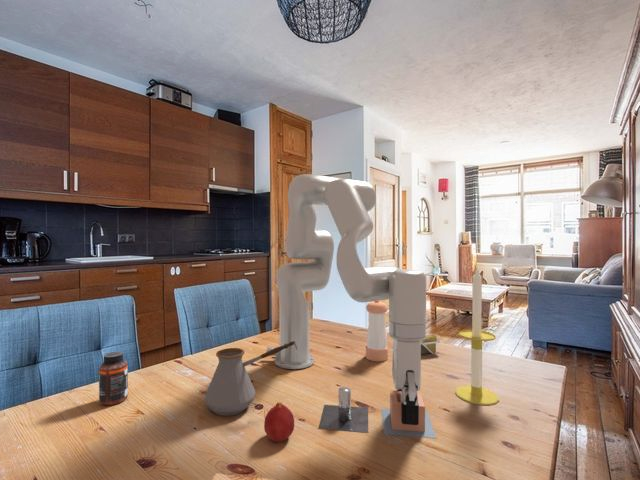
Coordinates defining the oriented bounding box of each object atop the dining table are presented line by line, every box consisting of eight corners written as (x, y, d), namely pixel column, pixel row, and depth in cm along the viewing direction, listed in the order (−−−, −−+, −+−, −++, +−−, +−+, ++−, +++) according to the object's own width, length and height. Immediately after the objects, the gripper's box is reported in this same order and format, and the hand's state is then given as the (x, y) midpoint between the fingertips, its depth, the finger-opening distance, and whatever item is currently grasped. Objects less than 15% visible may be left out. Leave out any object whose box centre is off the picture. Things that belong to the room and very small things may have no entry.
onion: (265, 434, 68) (265, 394, 68) (294, 433, 69) (294, 393, 69) (262, 453, 62) (262, 409, 62) (294, 451, 63) (294, 408, 63)
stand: (318, 433, 69) (318, 399, 68) (324, 409, 78) (324, 378, 78) (368, 437, 67) (368, 402, 67) (368, 412, 77) (368, 381, 77)
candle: (470, 406, 80) (470, 268, 79) (447, 388, 89) (448, 264, 89) (508, 403, 81) (509, 267, 81) (482, 385, 91) (482, 264, 91)
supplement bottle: (133, 397, 84) (133, 351, 84) (111, 408, 79) (111, 359, 78) (115, 393, 86) (115, 348, 86) (93, 404, 81) (92, 356, 80)
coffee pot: (198, 421, 73) (198, 351, 73) (210, 396, 84) (210, 336, 84) (298, 416, 75) (298, 349, 75) (296, 393, 86) (296, 334, 86)
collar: (392, 429, 68) (392, 404, 68) (390, 413, 75) (390, 390, 75) (424, 431, 68) (425, 406, 67) (420, 415, 74) (420, 392, 74)
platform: (461, 358, 113) (461, 338, 113) (414, 364, 107) (415, 343, 107) (438, 347, 124) (438, 329, 124) (395, 352, 119) (395, 333, 119)
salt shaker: (391, 356, 113) (391, 299, 113) (382, 363, 107) (383, 302, 107) (371, 352, 117) (371, 297, 117) (361, 358, 111) (362, 300, 111)
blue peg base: (383, 438, 67) (383, 399, 67) (381, 413, 77) (381, 378, 77) (436, 443, 65) (436, 402, 65) (427, 416, 75) (427, 381, 75)
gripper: (386, 319, 80) (386, 391, 80) (391, 341, 63) (391, 433, 63) (419, 320, 79) (419, 393, 79) (434, 342, 62) (433, 436, 62)
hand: (406, 411), depth 71 cm, fingers open, 9 cm apart
